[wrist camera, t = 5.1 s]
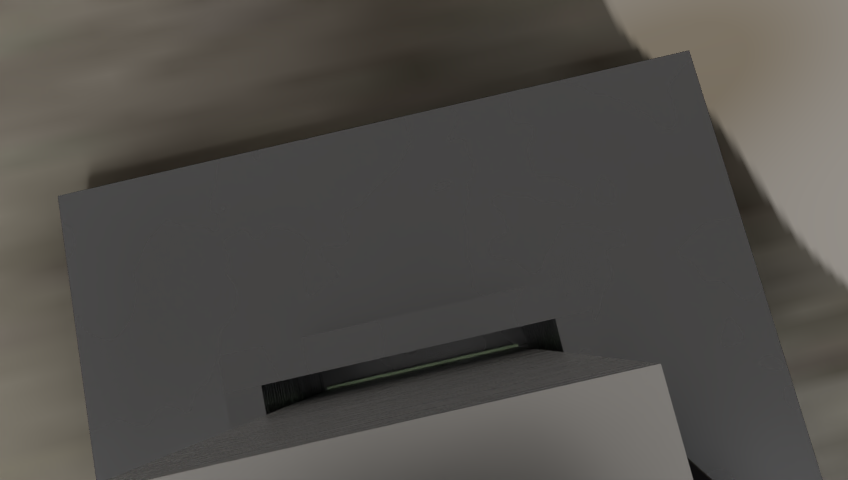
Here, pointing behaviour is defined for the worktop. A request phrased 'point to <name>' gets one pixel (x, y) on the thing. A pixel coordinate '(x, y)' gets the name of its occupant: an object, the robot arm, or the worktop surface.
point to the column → (458, 426)
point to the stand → (436, 268)
